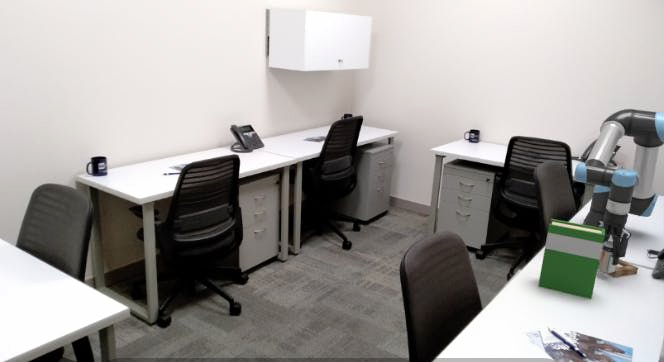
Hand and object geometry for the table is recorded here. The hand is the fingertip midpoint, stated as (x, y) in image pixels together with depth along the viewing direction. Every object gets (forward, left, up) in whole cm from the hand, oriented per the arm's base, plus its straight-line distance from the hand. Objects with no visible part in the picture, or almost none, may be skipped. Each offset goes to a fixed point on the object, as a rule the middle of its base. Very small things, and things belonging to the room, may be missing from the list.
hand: (604, 268), depth 202 cm
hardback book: (+22, +3, -4) cm, 23 cm away
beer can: (0, 0, -1) cm, 2 cm away
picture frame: (-11, -5, -4) cm, 12 cm away
